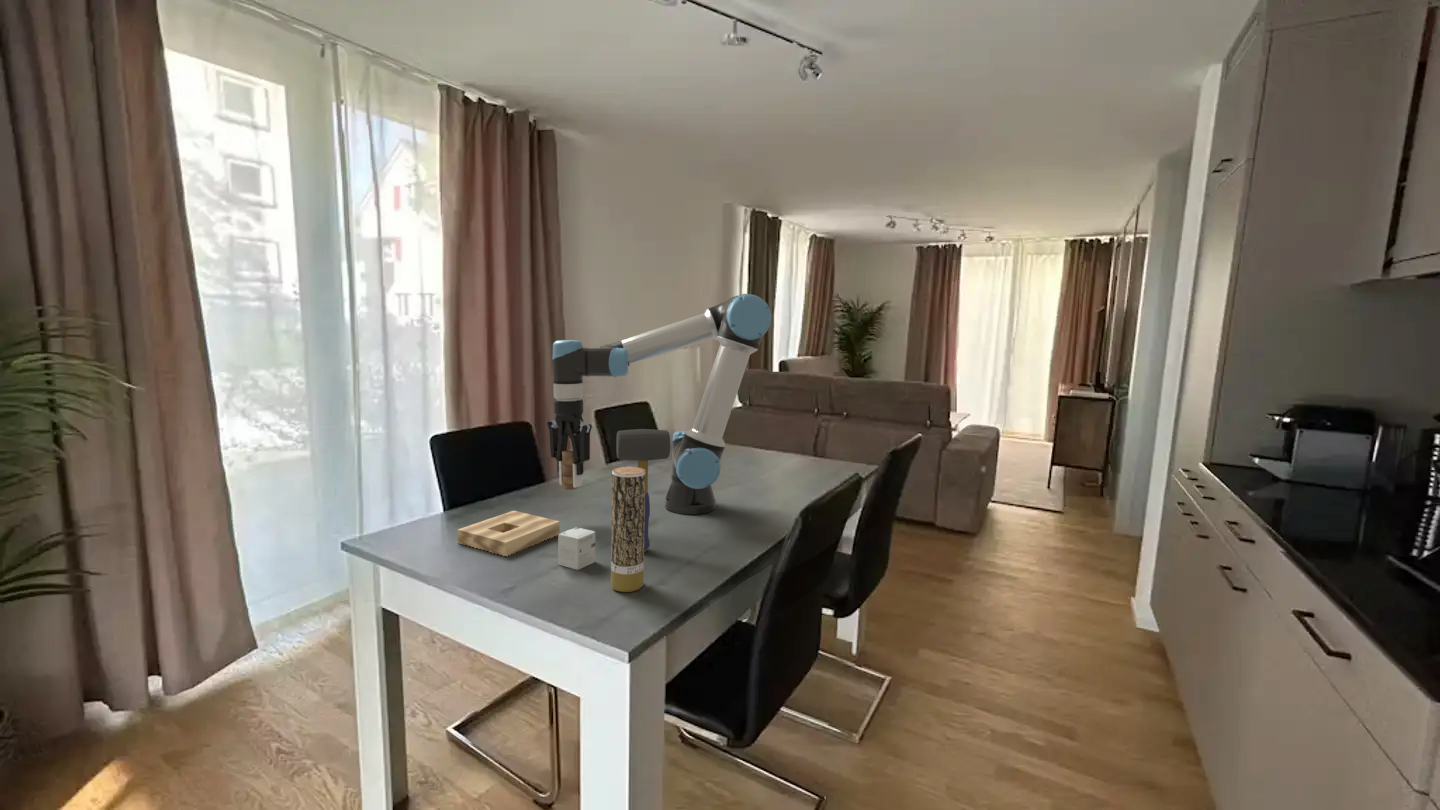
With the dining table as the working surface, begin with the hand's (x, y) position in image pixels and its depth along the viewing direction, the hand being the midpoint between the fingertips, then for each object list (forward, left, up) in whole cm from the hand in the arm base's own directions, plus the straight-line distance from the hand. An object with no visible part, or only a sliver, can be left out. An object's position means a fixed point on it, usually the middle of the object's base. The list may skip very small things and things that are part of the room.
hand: (570, 484), depth 167 cm
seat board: (+4, +17, -11) cm, 21 cm away
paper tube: (-37, +24, -11) cm, 45 cm away
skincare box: (-20, +20, -11) cm, 30 cm away
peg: (0, 0, -1) cm, 1 cm away
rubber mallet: (-28, +6, -11) cm, 30 cm away
